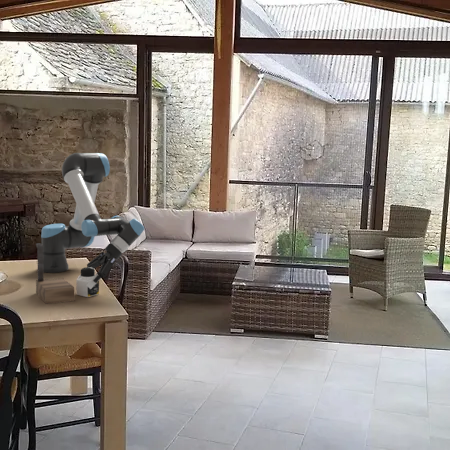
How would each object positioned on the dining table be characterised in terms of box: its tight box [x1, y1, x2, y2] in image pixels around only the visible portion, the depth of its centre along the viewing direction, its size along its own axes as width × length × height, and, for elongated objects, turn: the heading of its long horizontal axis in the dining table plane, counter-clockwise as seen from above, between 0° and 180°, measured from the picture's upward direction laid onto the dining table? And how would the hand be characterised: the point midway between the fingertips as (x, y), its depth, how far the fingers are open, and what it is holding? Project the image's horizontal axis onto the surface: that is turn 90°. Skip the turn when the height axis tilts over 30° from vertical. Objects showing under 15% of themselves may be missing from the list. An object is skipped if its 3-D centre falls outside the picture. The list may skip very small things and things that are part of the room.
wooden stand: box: [35, 243, 75, 305], centre depth 266 cm, size 20×12×22 cm, turn 29°
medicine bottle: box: [75, 266, 100, 298], centre depth 272 cm, size 7×7×12 cm
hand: (83, 283), depth 271 cm, fingers open, 13 cm apart
